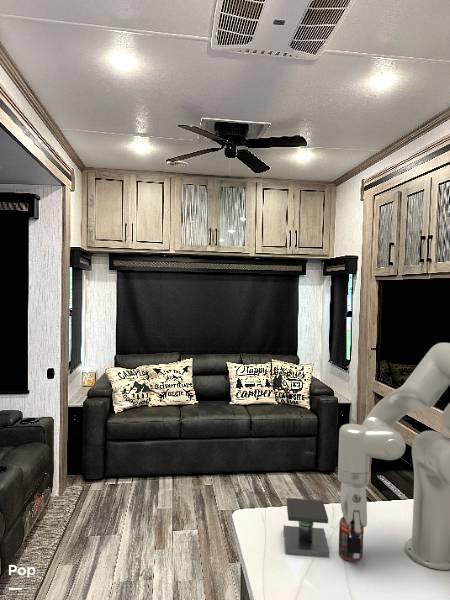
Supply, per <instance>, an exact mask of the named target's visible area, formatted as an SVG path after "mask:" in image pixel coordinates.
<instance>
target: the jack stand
mask: <svg viewBox="0 0 450 600" xmlns="http://www.w3.org/2000/svg"><path fill="white" fill-rule="evenodd" d="M285 502H286V503H285V504H286V511H287V512H286V513H287V520H288V522H290V521H291V522H298V526H294V525H283V539H284V541H283V542H284V552H285V555H287V556H298V557H299V556H303V557H314V558H326V559H327V558H328V559H330V553H331V552H330V548H329V544H328V540H327V536H326V533H325V528H324V527H322V528H321V527H319V528H318V527H314V524H315V523H317V524H329V517H328V513H327V510H326V506H325V502H324V500H320V499H319V500H318V499H317V500H316V499H304V498H303V499H301V498H286V501H285Z"/></svg>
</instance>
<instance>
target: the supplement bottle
mask: <svg viewBox="0 0 450 600" xmlns="http://www.w3.org/2000/svg"><path fill="white" fill-rule="evenodd" d="M351 523H352V524H354V521H351ZM338 524H339V525H338V527H339V528H338V530H339V531H338V554H339V557H341V558H342V559H343V560H345V561H348V562H353V563H356V562H360V561H361V560H362V559H363V555H364V533H365V531H364V528H365V527H364V526H362V524H361V522H360V528H361V551H360V553H359V554H358V553H348V552H347V536H349V531H348V525H347V524H346V521H345V519H344V517H343V516H342V517H341V518H340V519H339V523H338ZM352 530H354V527H351V532H352Z"/></svg>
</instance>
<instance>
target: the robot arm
mask: <svg viewBox="0 0 450 600" xmlns="http://www.w3.org/2000/svg"><path fill="white" fill-rule="evenodd" d="M449 386H450V342H438V343H436V344H435V345H433V346H432V347H431V348H430V349H429V350H428V351H427V353H426V354H425V355H424V357H423V358H422V359H421V360H420V361H419V363H418V365H417V366H416V367H415V369H414V370H413V371H412V372H411V374H410V375H409V376H408V378H406V380H405V382H404V383H403V384H402V385H401V386H400V387H398V388H396V389H395V390H393V391H392V392H390V393H389V394H387V395H386V396H385V397H383V398H382V399H380V400H379V401H378V402H377V403H376V404H375V405H374V407H372V409H371V410H370V412H369V413H368V415H367V416H366V417H365V418H364V420H363V422H362V424H357V423H345V424H343V425H341V427H340V428H339V431H338V458H337V460H338V461H337V462H338V463H337V465H338V466H337V480H338V482H340V483H341V484H340V485H341V486H340V487H341V488H340V507H341V508H340V510H341V513H342V517H344V519H345V521H346V524H347V525H348V531H349V536H347V552H348V553H358V554H359V553H360V551H361V528H360V522H361V524H362V526H364V528H366V527H367V525H368V518H367V517H368V514H367V513H368V510H367V506H368V503H367V499H368V498H367V490H366V489H367V488H366V487H367V486H368V485H369V480H370V458H374V459H379V460H385V461H394V460H398V459H400V458H401V457H402V456H403V455H404V454H405V452H406V447H407V446H406V442H405V439H404V438H403V436H402V435H401V434H400V433H399V432H398V431H396V430H395V429H394V428H393V427H394V426H395V425H396V424H397V423H398V421H400V419H402V418H403V417H404V416H406V415H408V414H410V413H412V412H413V413H414V412H417V411H424V410H427V409H431V408H432V407H434V406H435V405H436V403H437V402H438V401H439V399H440V398H441V397H442V395H444V394H443V393H445V391H446V390H447V389H448V387H449ZM440 418H441V419H440V421H441V425H442V426H443V427H444V428H445V430H446V431H447V432H449V433H450V402H449V403H448V404H447V406H446V407H445V408H444V410H443V411H442V414H441V416H440ZM411 457H412V458H411V459H412V466H413V478H414V479H413V505H412V528H411V530H412V531H411V532H412V533H411V538H409V539H408V540H406V541H405V544H404V545H405V546H404V549H405V552H406V554H407V555H408V557H409V558H411V559H412V560H413V561H415V562H416V563H418V564H420V565H421V566H424V567H426V568H430V569H435V570H439V571H447V570H448V571H449V570H450V437H448V436H447V435H445V434H443V433H440V432H439V431H435V430H424V431H421V432H420V433H419V434H417V436H416V437H415V438H414V440H413V441H412V446H411ZM351 521H354V524H352V523H351ZM351 527H354V530H352V532H351Z"/></svg>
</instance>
